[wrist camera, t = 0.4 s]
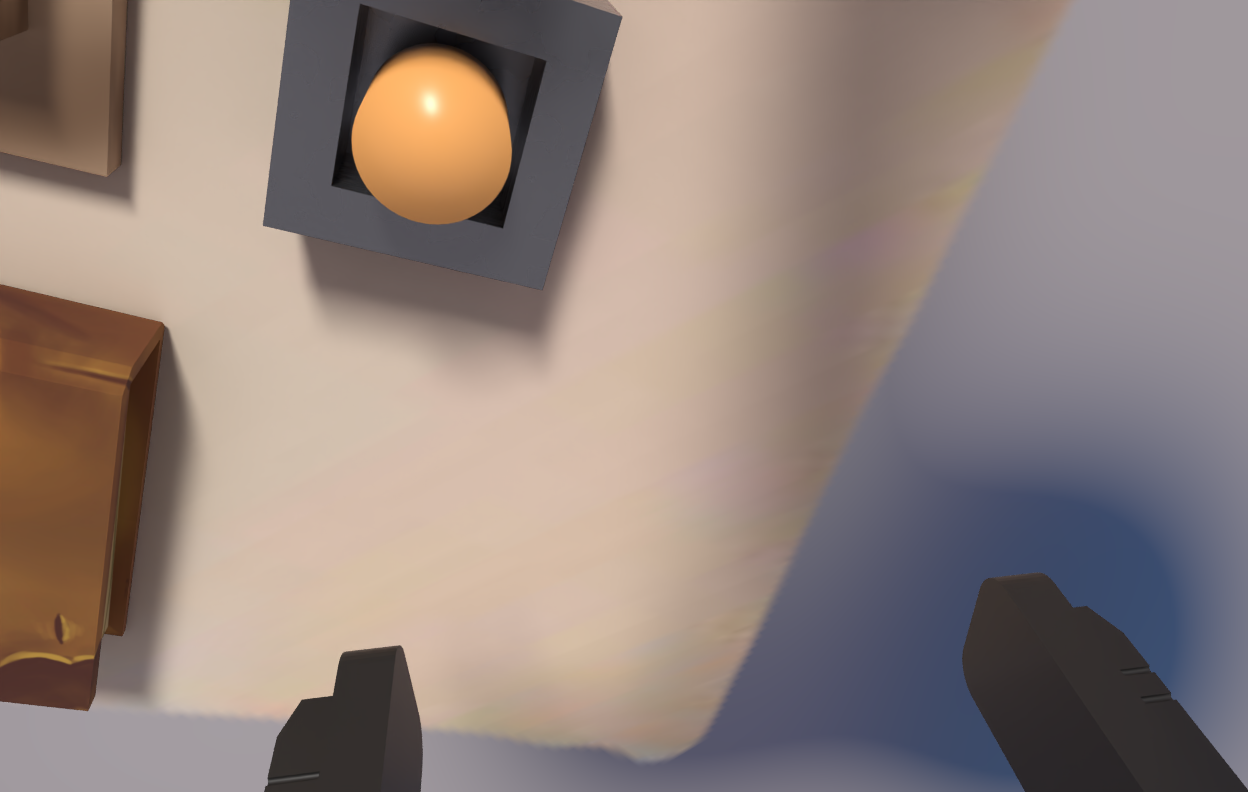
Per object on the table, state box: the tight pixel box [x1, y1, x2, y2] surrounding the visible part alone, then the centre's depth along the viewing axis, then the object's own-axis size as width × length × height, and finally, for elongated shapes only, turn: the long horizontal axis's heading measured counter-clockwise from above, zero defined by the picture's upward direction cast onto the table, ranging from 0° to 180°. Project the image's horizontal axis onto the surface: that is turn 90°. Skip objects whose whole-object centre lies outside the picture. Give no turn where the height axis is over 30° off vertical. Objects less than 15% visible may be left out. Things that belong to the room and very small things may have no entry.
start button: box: [352, 43, 512, 225], centre depth 28 cm, size 5×5×4 cm
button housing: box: [263, 0, 622, 290], centre depth 31 cm, size 10×10×5 cm
